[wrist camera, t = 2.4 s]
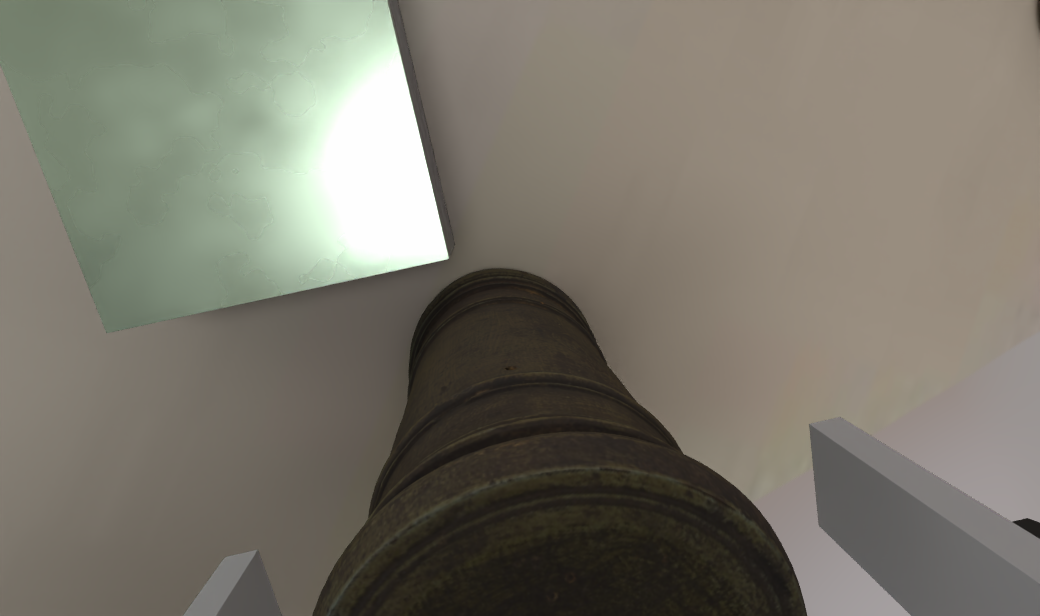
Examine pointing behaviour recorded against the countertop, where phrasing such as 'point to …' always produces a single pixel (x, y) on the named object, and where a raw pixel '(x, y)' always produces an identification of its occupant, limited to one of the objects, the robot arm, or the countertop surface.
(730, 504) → the container
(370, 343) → the countertop surface
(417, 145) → the grey square box
